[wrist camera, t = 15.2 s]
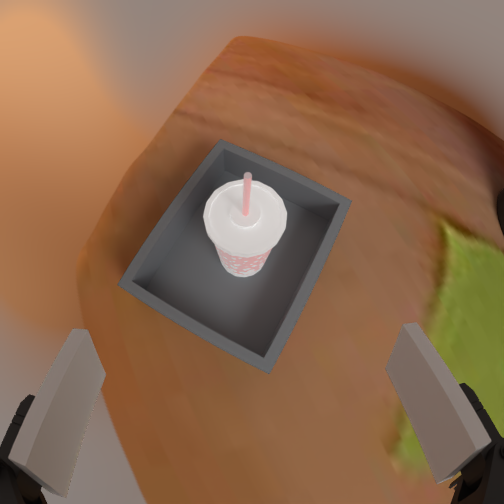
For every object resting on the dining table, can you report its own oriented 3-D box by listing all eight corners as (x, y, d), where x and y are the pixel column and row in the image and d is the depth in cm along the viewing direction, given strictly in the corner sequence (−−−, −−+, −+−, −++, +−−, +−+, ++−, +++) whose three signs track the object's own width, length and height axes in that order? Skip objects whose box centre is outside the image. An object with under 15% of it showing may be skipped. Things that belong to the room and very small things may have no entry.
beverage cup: (262, 293, 29) (284, 238, 16) (203, 273, 29) (177, 203, 16) (281, 237, 31) (310, 153, 18) (224, 219, 31) (218, 126, 18)
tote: (222, 166, 35) (220, 139, 30) (337, 222, 33) (351, 200, 28) (134, 296, 29) (117, 284, 24) (263, 371, 27) (269, 374, 23)
